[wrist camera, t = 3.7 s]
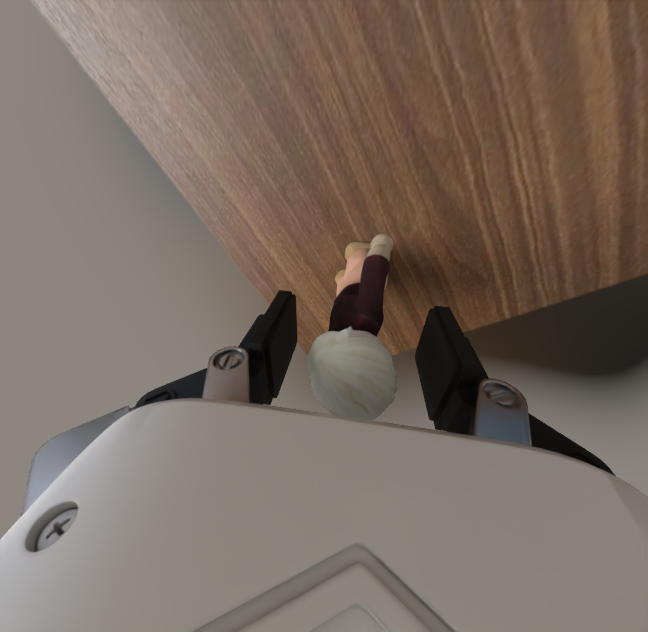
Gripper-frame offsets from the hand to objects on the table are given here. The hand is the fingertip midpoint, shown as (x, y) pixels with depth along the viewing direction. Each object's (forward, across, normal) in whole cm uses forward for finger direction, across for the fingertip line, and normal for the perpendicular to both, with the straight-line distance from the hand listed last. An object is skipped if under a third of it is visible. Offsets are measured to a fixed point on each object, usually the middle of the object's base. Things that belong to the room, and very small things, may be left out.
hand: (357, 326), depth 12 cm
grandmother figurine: (+8, 0, 0) cm, 8 cm away
